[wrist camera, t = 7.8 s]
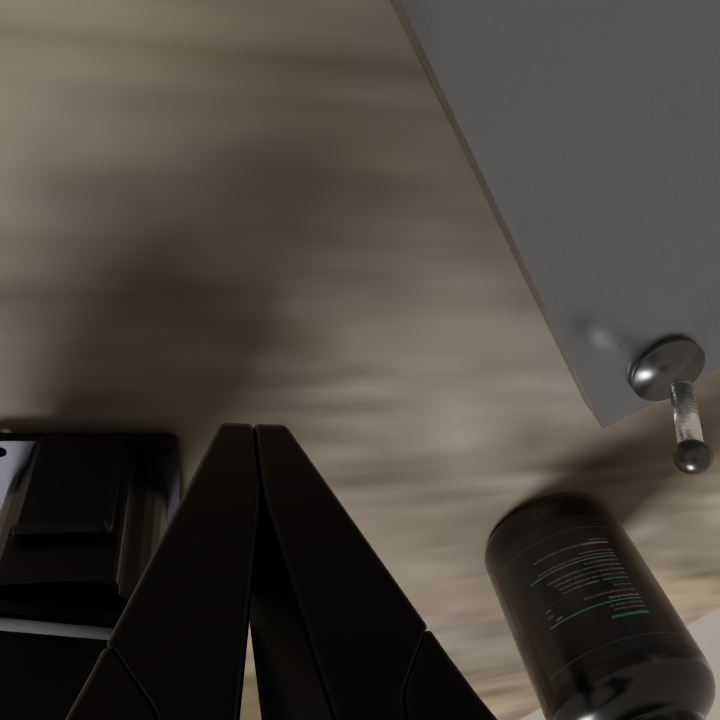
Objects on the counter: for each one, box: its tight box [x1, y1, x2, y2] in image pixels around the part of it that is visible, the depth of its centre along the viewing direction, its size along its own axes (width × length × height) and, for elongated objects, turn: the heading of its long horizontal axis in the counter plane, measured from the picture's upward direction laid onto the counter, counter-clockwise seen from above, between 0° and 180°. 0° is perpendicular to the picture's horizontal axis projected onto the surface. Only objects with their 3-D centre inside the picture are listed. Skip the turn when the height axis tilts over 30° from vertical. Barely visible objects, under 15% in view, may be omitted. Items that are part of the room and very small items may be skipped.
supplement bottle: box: [485, 494, 715, 720], centre depth 28 cm, size 7×7×12 cm
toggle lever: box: [670, 378, 713, 475], centre depth 22 cm, size 1×1×4 cm
